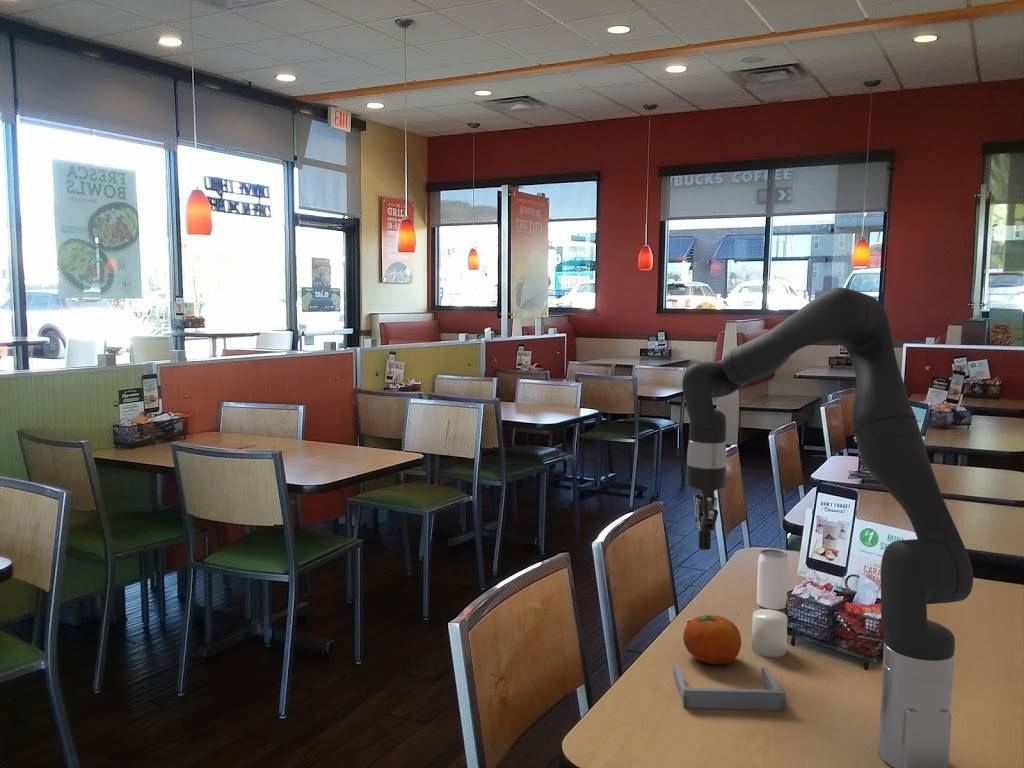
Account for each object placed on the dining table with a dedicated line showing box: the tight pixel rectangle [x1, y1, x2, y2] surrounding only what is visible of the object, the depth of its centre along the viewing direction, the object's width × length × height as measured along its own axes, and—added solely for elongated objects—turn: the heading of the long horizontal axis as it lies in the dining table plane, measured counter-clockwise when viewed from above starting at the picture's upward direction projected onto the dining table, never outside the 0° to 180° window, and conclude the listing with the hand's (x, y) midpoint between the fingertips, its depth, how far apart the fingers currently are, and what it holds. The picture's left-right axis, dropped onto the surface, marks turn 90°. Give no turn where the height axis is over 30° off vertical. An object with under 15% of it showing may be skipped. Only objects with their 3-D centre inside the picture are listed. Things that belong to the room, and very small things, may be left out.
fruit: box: [682, 614, 742, 665], centre depth 155 cm, size 11×10×8 cm
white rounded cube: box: [751, 608, 788, 658], centre depth 160 cm, size 6×6×7 cm
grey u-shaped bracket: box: [672, 664, 786, 711], centre depth 143 cm, size 12×17×3 cm
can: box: [756, 548, 790, 611], centre depth 183 cm, size 6×6×12 cm
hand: (703, 548), depth 164 cm, fingers closed
